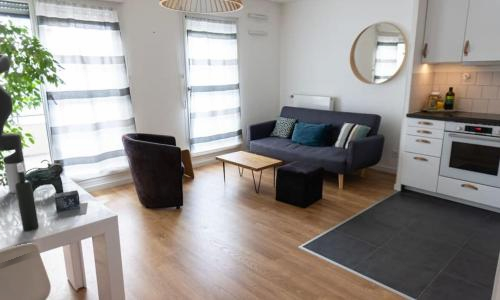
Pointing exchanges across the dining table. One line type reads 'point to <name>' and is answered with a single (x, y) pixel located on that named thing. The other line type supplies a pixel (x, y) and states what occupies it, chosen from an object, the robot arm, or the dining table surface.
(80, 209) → the mat
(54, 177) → the ceramic cat
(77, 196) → the box
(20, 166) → the wine bottle
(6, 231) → the dining table surface
